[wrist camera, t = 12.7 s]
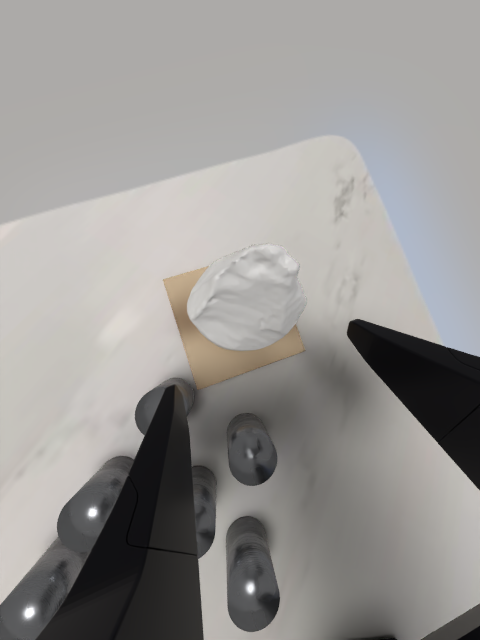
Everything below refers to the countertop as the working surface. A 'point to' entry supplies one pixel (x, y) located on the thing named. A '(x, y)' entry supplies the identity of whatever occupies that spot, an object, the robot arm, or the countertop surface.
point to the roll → (248, 298)
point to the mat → (210, 359)
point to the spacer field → (241, 541)
